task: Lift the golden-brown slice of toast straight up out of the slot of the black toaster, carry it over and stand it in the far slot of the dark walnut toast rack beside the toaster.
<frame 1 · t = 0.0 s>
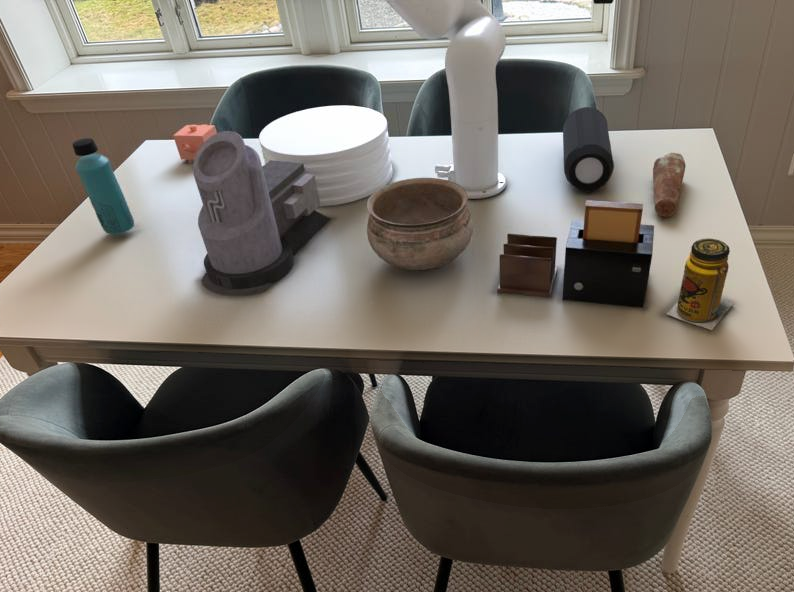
cooking pot: (423, 261, 123), on the table
plate stack: (332, 178, 153), on the table
rack: (527, 281, 115), on the table
reddish-brown tapered rod: (668, 198, 135), on the table
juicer: (267, 253, 130), on the table
pink cube teapot: (201, 159, 167), on the table
condiment: (699, 311, 106), on the table
toaster: (604, 288, 112), on the table
beverage bottle: (122, 234, 140), on the table
toast: (607, 265, 109), point 4 cm above the table, touching toaster
portable speaker: (585, 170, 147), on the table
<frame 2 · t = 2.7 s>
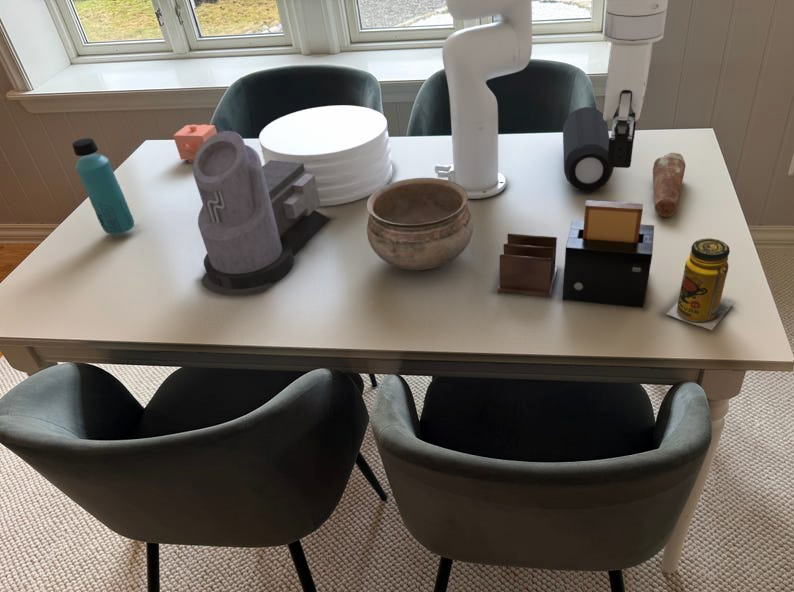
hand: (620, 152, 97), 24 cm above the table, tool pointing down, fingers open, 9 cm apart
nothing on the table moved.
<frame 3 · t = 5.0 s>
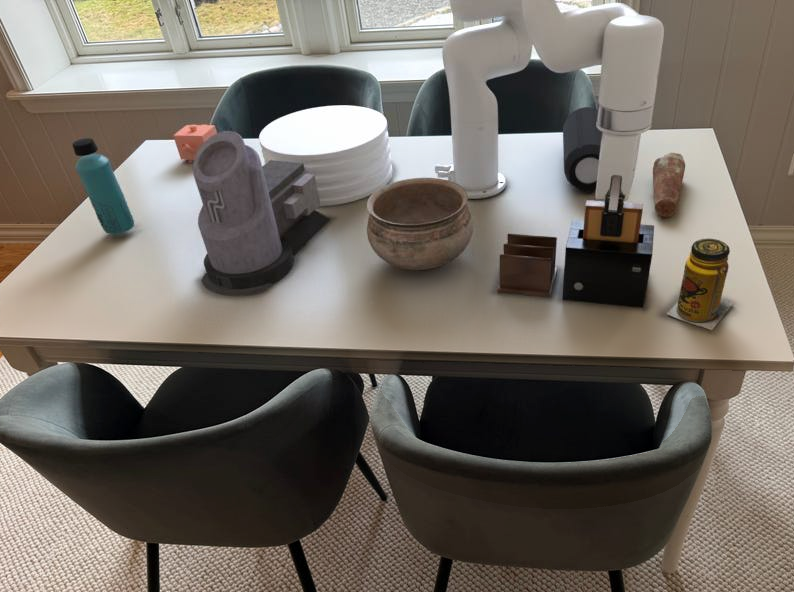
hand: (611, 230, 105), 11 cm above the table, tool pointing down, fingers closed on toast, 1 cm apart
toast: (607, 265, 109), point 5 cm above the table, touching gripper, toaster
everything else where it was.
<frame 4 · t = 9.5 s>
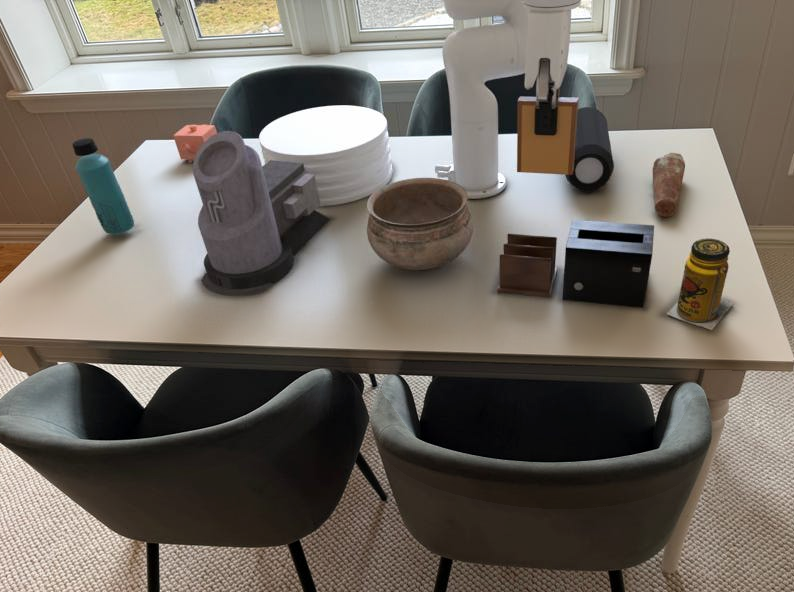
hand: (546, 130, 99), 26 cm above the table, tool pointing down, fingers closed on toast
toast: (545, 171, 103), point 20 cm above the table, touching gripper
everything else where it was.
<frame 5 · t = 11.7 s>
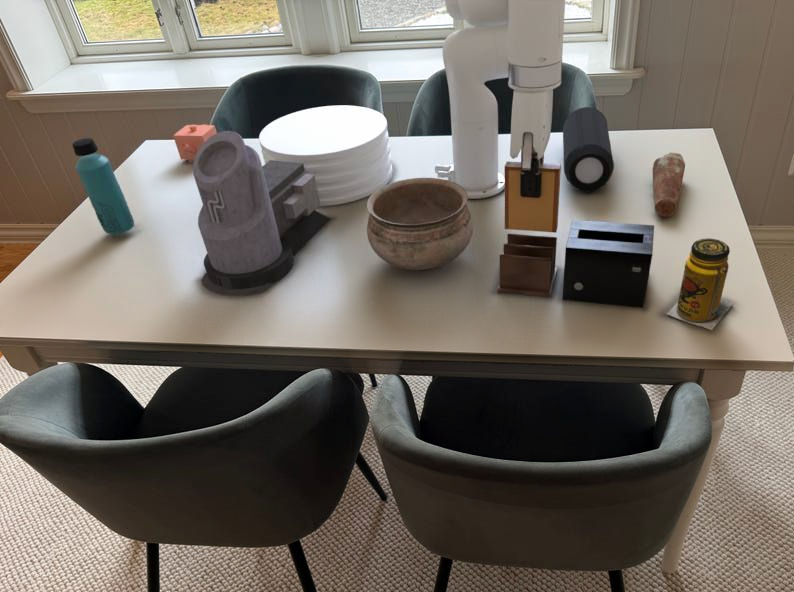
hand: (531, 192, 106), 16 cm above the table, tool pointing down, fingers closed on toast
toast: (531, 228, 110), point 9 cm above the table, touching gripper
everything else where it was.
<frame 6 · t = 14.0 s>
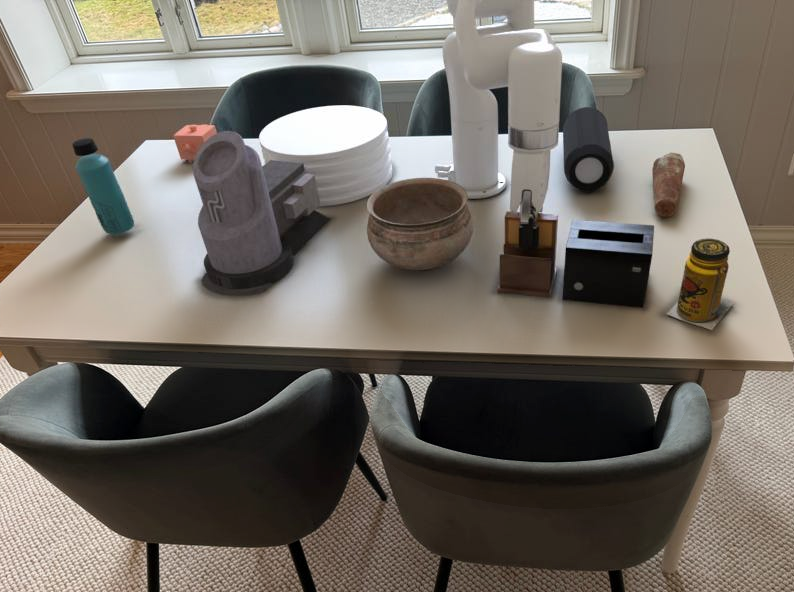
hand: (530, 240, 112), 7 cm above the table, tool pointing down, fingers open, 3 cm apart
toast: (529, 272, 116), point 1 cm above the table, touching rack
everything else where it was.
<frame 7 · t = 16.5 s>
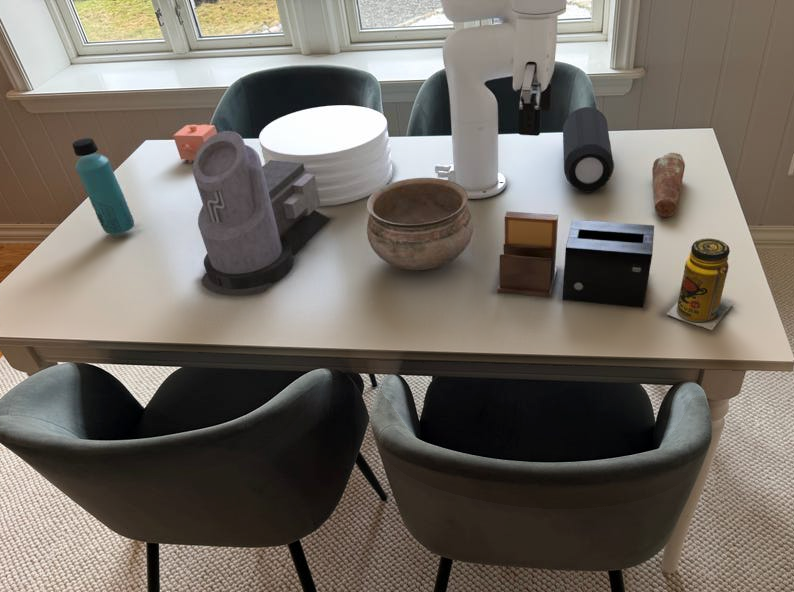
hand: (534, 121, 104), 26 cm above the table, tool pointing down, fingers open, 9 cm apart
nothing on the table moved.
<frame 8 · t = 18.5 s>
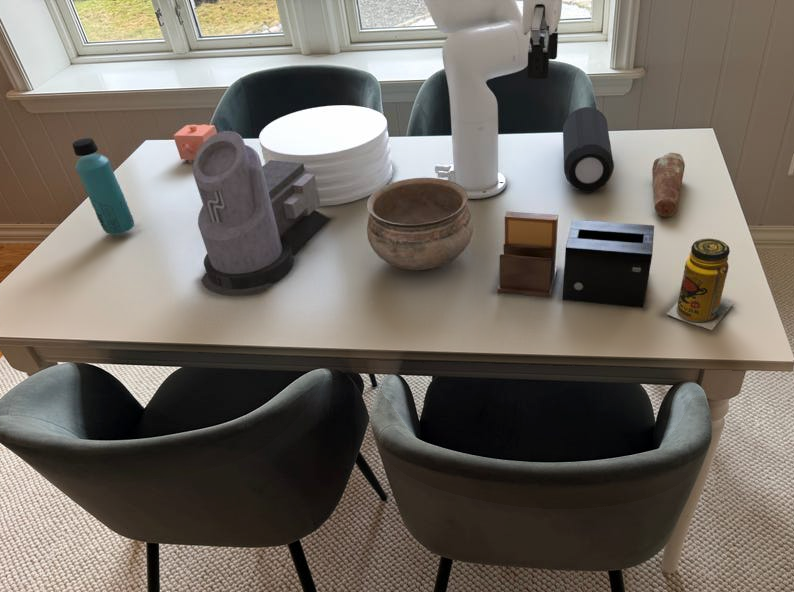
hand: (542, 68, 108), 30 cm above the table, tool pointing down, fingers open, 9 cm apart
nothing on the table moved.
at the end: toast 0.1 cm from the target spot on the rack, point 0.8 cm above the rack's base; toast tilted 0°; the gripper is holding nothing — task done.
